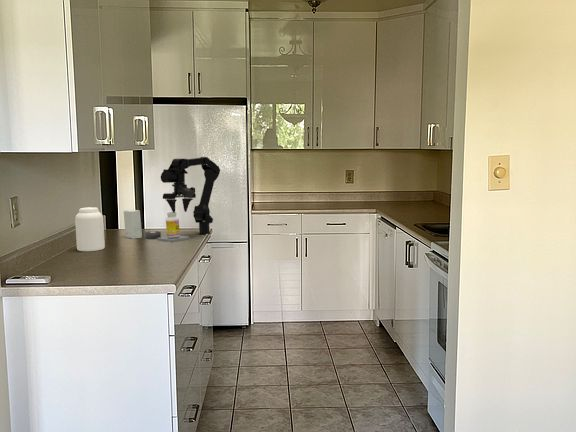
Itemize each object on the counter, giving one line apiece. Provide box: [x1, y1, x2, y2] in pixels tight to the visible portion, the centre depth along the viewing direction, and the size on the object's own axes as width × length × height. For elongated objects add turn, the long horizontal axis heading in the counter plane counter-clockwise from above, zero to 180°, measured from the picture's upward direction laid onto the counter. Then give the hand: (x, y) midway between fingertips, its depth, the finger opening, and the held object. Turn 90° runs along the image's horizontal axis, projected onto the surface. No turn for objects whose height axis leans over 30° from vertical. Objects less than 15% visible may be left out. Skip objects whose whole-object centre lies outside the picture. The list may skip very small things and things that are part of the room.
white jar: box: [74, 206, 106, 253], centre depth 256 cm, size 12×12×20 cm
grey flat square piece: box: [156, 235, 191, 243], centre depth 282 cm, size 12×12×1 cm
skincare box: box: [123, 209, 143, 240], centre depth 289 cm, size 8×6×15 cm
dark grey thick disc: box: [144, 230, 162, 240], centre depth 288 cm, size 8×8×3 cm
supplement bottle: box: [165, 211, 181, 238], centre depth 281 cm, size 7×7×13 cm
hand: (179, 212), depth 284 cm, fingers open, 8 cm apart
